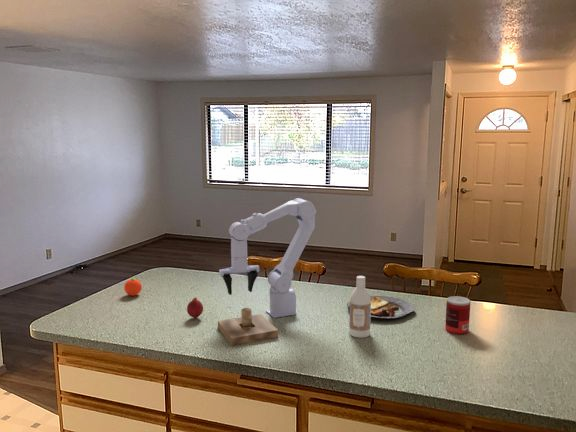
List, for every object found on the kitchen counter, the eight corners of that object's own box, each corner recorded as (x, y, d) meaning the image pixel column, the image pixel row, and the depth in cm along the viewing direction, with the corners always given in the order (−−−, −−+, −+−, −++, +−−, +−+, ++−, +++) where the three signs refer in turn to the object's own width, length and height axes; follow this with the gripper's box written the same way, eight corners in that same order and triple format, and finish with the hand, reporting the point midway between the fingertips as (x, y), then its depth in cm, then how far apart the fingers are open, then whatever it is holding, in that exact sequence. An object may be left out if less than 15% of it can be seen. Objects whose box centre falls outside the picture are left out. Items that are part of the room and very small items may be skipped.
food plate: (383, 327, 174) (384, 317, 174) (334, 310, 192) (335, 301, 191) (424, 312, 191) (425, 303, 190) (376, 297, 208) (376, 289, 208)
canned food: (468, 327, 175) (470, 297, 173) (468, 336, 167) (470, 304, 165) (445, 324, 177) (447, 294, 175) (444, 333, 170) (446, 302, 168)
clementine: (130, 291, 215) (129, 275, 213) (145, 292, 214) (145, 275, 212) (121, 297, 207) (120, 280, 206) (137, 298, 206) (136, 281, 205)
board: (260, 320, 181) (260, 314, 181) (278, 337, 167) (278, 330, 166) (217, 327, 175) (217, 321, 174) (231, 345, 160) (231, 338, 160)
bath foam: (347, 336, 167) (348, 278, 163) (351, 329, 173) (352, 273, 170) (368, 339, 165) (369, 280, 161) (371, 331, 171) (372, 274, 168)
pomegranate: (199, 321, 180) (199, 300, 179) (184, 320, 181) (184, 299, 180) (205, 316, 186) (205, 295, 185) (191, 315, 187) (190, 294, 186)
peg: (249, 329, 173) (248, 307, 172) (253, 332, 170) (253, 310, 169) (240, 331, 172) (239, 309, 170) (244, 334, 169) (243, 312, 167)
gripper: (254, 251, 186) (255, 286, 188) (216, 255, 180) (217, 291, 182) (261, 255, 179) (261, 292, 182) (222, 260, 174) (223, 297, 176)
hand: (240, 292), depth 182 cm, fingers open, 7 cm apart
